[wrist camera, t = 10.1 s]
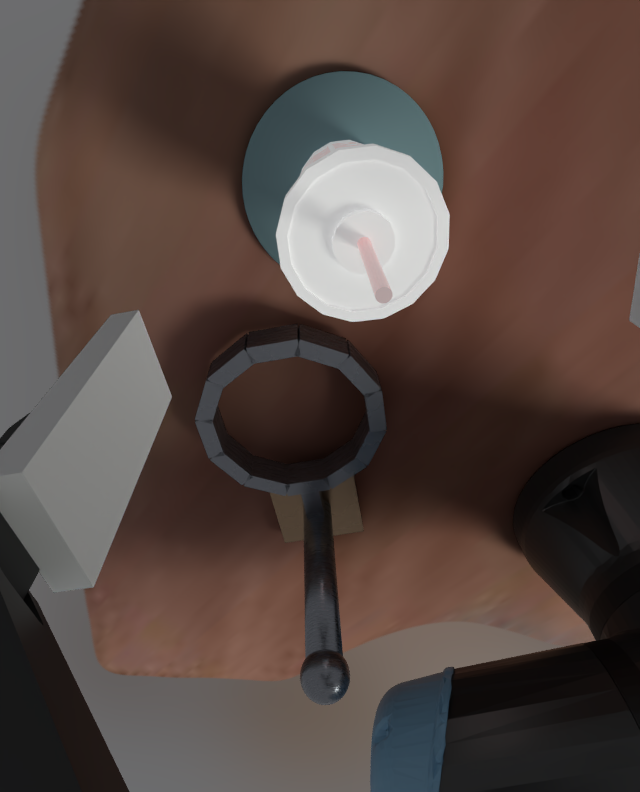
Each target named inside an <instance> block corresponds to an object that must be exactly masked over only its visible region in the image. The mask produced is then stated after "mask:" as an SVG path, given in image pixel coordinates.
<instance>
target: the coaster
mask: <svg viewBox="0 0 640 792" xmlns="http://www.w3.org/2000/svg"><path fill="white" fill-rule="evenodd" d="M343 140H352V141H355V142H358V143H361V144H364V145H365V144H376V145H379V146H382V147H385V148H388V149H391V150H394V151H397V152H400V153H404V154H406V155H409V156H411V157H412V158H413V159H414V160H415V161H416V162H417V163H418V164H419V165H420V166H421V167H422V168H423V169H424V170H425V171H426V172H427V173H428V174H429V175H430V176H431V177H433V178H434V179H435V180H436V181H437V183H438V186H439V189H440V191H441V194H442V188H443V164H442V156H441V151H440V147H439V143H438V140H437V137H436V135H435V132H434V129H433V128H432V126H431V124H430V122H429V120H428V118H427V117H426V115H425V114H424V112H423V111H422V110H421V108H420V107H419V106H418V104H417V103H416V102H415V101H414V100H413V99H412V98H411V97H410V96H409V95H408V94H406V93H405V92H404V91H402V90H401V89H400V88H398V87H397V86H395V85H393V84H392V83H390V82H388V81H386V80H384V79H382V78H379V77H376V76H373V75H370V74H365V73H360V72H348V71H338V72H330V73H325V74H321V75H317V76H314V77H311V78H309V79H307V80H305V81H302V82H300V83H298V84H297V85H295V86H294V87H292V88H290V89H289V90H287V91H286V92H285V93H284V94H283V95H281V96H280V97H279V98H278V99H277V100H276V101H275V102H274V103H273V104H272V105H271V106H270V108H269V109H268V110H267V111H266V112H265V114H264V115H263V117H262V118H261V120H260V121H259V123H258V124H257V126H256V128H255V130H254V132H253V134H252V137H251V139H250V142H249V145H248V148H247V151H246V154H245V159H244V164H243V174H242V190H243V199H244V205H245V210H246V213H247V216H248V219H249V222H250V225H251V227H252V229H253V231H254V233H255V235H256V237H257V238H258V240H259V242H260V243H261V245H262V246H263V247H264V249H265V250H266V251H267V252H268V254H269V255H270V256H271V257H272V258H273V259H274V260H275V261H276V262H277V263H278V264H280V259H279V253H278V246H277V239H276V231H277V227H278V223H279V219H280V215H281V210H282V206H283V202H284V198H285V196H286V194H287V193H288V191H289V190H290V189H291V187H292V186H293V185H294V183H295V182H296V180H297V179H298V178H299V176H300V174H301V171H302V168H303V167H304V165H305V164H306V162H307V161H308V160H309V158H310V157H311V155H312V154H313V153H314V152H315V151H317V150H318V149H320V148H321V147H323V146H325V145H326V144H328V143H330V142H335V141H343Z"/></svg>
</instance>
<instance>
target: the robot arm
mask: <svg viewBox="0 0 640 792" xmlns="http://www.w3.org/2000/svg"><path fill="white" fill-rule="evenodd" d="M629 321H631V322H632V323H633V324H635V325H636V326H638V327H639V328H640V255H639V262H638V268H637V274H636V280H635V287H634V293H633V299H632V306H631V312H630V318H629ZM171 398H172V395H171V393H170V390H169V387H168V385H167V382H166V380H165V377H164V374H163V372H162V369H161V367H160V364H159V361H158V359H157V356H156V354H155V351H154V348H153V346H152V343H151V341H150V338H149V335H148V333H147V330H146V328H145V325H144V322H143V320H142V317H141V315H140V312H139V310H136V311H130V312H125V313H119V314H113V315H111V316H110V317H109V318H108V319H107V320H106V322H105V323H104V324H103V325H102V327H101V328H100V329H99V330H98V331H97V333H96V334H95V335H94V336H93V337H92V339H91V340H90V341H89V342H88V344H87V345H86V346H85V347H84V348H83V350H82V351H81V352H80V353H79V354H78V356H77V357H76V358H75V359H74V361H73V362H72V363H71V364H70V365H69V367H68V368H67V369H66V370H65V371H64V373H63V374H62V375H61V376H60V378H59V379H58V380H57V381H56V382H55V384H54V385H53V386H52V387H51V388H50V390H49V391H48V392H47V393H46V395H45V396H44V397H43V398H42V399H41V401H40V402H39V403H38V404H37V406H36V407H35V408H34V409H33V410H32V412H31V413H29V414H27V415H26V416H25V417H24V418H22V419H21V420H19V421H18V422H17V423H15V424H14V425H13V426H11V427H10V428H9V429H8V430H7V431H6V432H5V433H4V435H3V436H2V437H1V438H0V792H129V790H128V788H127V786H126V784H125V782H124V780H123V778H122V775H121V773H120V772H119V769H118V767H117V765H116V763H115V761H114V759H113V757H112V755H111V753H110V751H109V749H108V747H107V745H106V743H105V741H104V738H103V736H102V734H101V732H100V730H99V728H98V726H97V724H96V722H95V720H94V718H93V716H92V714H91V712H90V710H89V707H88V705H87V703H86V701H85V699H84V697H83V695H82V693H81V691H80V689H79V687H78V685H77V683H76V681H75V679H74V677H73V674H72V672H71V670H70V668H69V666H68V664H67V662H66V660H65V658H64V656H63V654H62V652H61V650H60V648H59V645H58V643H57V641H56V639H55V637H54V635H53V633H52V631H51V629H50V627H49V625H48V623H47V621H46V619H45V617H44V615H43V613H42V610H41V608H40V606H39V604H38V602H37V601H36V600H35V598H34V597H33V596H32V594H31V593H30V591H29V589H30V587H31V585H32V583H33V581H34V580H35V578H36V576H37V574H38V572H39V573H40V574H41V576H42V577H43V578H44V580H45V581H46V583H47V584H48V586H49V587H50V588H51V590H52V591H53V593H57V592H64V591H71V590H77V589H85V588H92V587H94V585H95V583H96V580H97V578H98V576H99V573H100V571H101V568H102V566H103V563H104V561H105V559H106V556H107V554H108V551H109V549H110V546H111V544H112V542H113V539H114V537H115V534H116V532H117V529H118V527H119V525H120V522H121V520H122V517H123V515H124V512H125V510H126V508H127V505H128V503H129V500H130V498H131V495H132V493H133V491H134V488H135V486H136V483H137V481H138V478H139V476H140V474H141V471H142V469H143V466H144V464H145V461H146V459H147V457H148V454H149V452H150V449H151V447H152V444H153V442H154V440H155V437H156V435H157V432H158V430H159V427H160V425H161V423H162V420H163V418H164V415H165V413H166V410H167V408H168V406H169V403H170V401H171ZM513 527H514V532H515V535H516V538H517V540H518V542H519V544H520V547H521V549H522V551H523V553H524V555H525V557H526V559H527V561H528V562H529V564H530V565H531V567H532V568H533V569H534V571H535V572H536V573H537V574H538V575H539V576H540V577H541V578H542V579H543V580H544V581H545V582H546V583H547V584H548V585H549V586H550V587H551V588H552V589H553V590H554V591H555V592H556V593H557V594H558V595H559V596H560V597H561V598H562V599H563V600H564V601H565V602H566V603H567V604H568V605H569V606H570V607H571V608H572V609H573V610H574V611H575V612H576V613H577V614H578V615H579V616H580V617H581V618H582V619H583V620H584V621H585V622H586V624H587V625H588V627H589V628H590V630H591V632H592V634H593V636H594V638H595V640H596V641H592V642H587V643H582V644H581V643H580V644H575V645H570V646H565V647H561V648H556V649H551V650H546V651H541V652H536V653H531V654H526V655H521V656H516V657H511V658H506V659H501V660H497V661H491V662H486V663H481V664H476V665H472V666H467V667H462V668H457V669H454V667H448V668H445V669H444V671H443V672H441V673H437V674H433V675H430V676H426V677H422V678H418V679H414V680H410V681H406V682H403V683H400V684H398V685H395V686H394V687H392V688H391V689H389V690H388V691H387V692H386V694H385V695H384V696H383V698H382V700H381V701H380V703H379V706H378V708H377V711H376V716H375V720H374V726H373V733H372V745H371V775H370V785H371V792H640V424H634V425H627V426H621V427H617V428H613V429H609V430H606V431H603V432H600V433H597V434H594V435H592V436H589V437H587V438H585V439H583V440H580V441H578V442H576V443H575V444H573V445H571V446H569V447H568V448H566V449H564V450H563V451H561V452H560V453H558V454H557V455H555V456H554V457H553V458H551V459H550V460H549V461H548V462H547V463H545V464H544V465H543V466H542V467H541V468H540V469H539V470H538V471H537V472H536V473H535V474H534V475H533V476H532V478H531V479H530V480H529V481H528V483H527V484H526V486H525V487H524V489H523V490H522V492H521V494H520V496H519V498H518V500H517V503H516V506H515V510H514V515H513Z"/></svg>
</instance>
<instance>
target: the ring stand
mask: <svg viewBox="0 0 640 792" xmlns="http://www.w3.org/2000/svg"><path fill="white" fill-rule="evenodd" d="M296 356H298V357H302V358H305V359H308V360H311V361H315V362H318V363H321V364H324V365H328V366H331V367H334V368H338V369H339V370H340V371H341V372H342V373H343V374H344V375H345V376H346V377H347V378H348V379H349V380H350V381H351V382H352V383H353V384H354V385H355V386H356V388H357V389H358V390H359V391H360V392H361V393H362V394H363V395H364V401H365V407H366V412H365V414H364V416H363V418H362V420H361V422H360V424H359V426H358V428H357V430H356V432H355V434H354V436H353V438H352V440H350V441H349V442H347V443H346V444H344V445H343V446H341V447H340V448H339V449H337V450H336V451H334V452H333V453H331V454H330V455H328V456H327V457H325V458H324V459H318V460H312V461H305V462H299V463H293V464H285V463H281V462H277V461H273V460H270V459H266V458H262V457H258V456H254V455H252V454H251V453H250V452H249V451H248V450H246V449H245V448H244V447H243V446H242V445H240V444H239V443H238V442H237V441H236V440H234V439H233V438H232V437H231V436H230V435H229V434H227V431H226V428H225V425H224V422H223V419H222V416H221V413H220V410H219V407H218V402H219V399H220V396H221V393H222V389H223V388H224V387H225V386H226V385H228V384H229V383H230V382H232V381H233V380H234V379H235V378H237V377H238V376H239V375H240V374H242V373H243V372H244V371H245V370H247V369H248V368H249V367H251V366H252V365H253V364H255V363H261V362H267V361H273V360H279V359H284V358H290V357H296ZM195 424H196V426H197V429H198V432H199V434H200V437H201V439H202V442H203V445H204V447H205V450H206V453H207V455H208V458H210V460H211V461H212V462H213V463H214V464H216V465H217V466H218V467H219V468H221V469H222V470H223V471H225V472H226V473H227V474H228V475H230V476H231V477H232V478H233V479H235V480H236V481H237V482H238V483H240V484H241V485H243V484H244V486H245V487H249V488H254V489H258V490H262V491H266V492H269V493H270V496H271V499H272V502H273V506H274V509H275V512H276V515H277V519H278V522H279V525H280V528H281V532H282V535H283V538H284V541H285V543H287V542H294V541H301V540H304V584H305V649H306V659H305V660H304V662H303V664H302V667H301V672H300V681H301V686H302V688H303V690H304V692H305V694H306V695H307V696H308V697H309V698H310V700H312V701H313V702H315V703H317V704H321V705H330V704H333V703H335V702H337V701H339V700H340V699H341V698H342V697H343V696H344V695H345V693H346V691H347V689H348V686H349V683H350V671H349V667H348V664H347V662H346V660H345V659H344V658H343V653H342V640H341V627H340V615H339V602H338V589H337V577H336V564H335V551H334V538H333V536H334V535H341V534H348V533H354V532H361V531H364V530H363V523H362V517H361V512H360V506H359V501H358V495H357V490H356V484H355V478H354V475H355V474H356V473H358V472H360V471H361V470H363V469H364V468H366V467H367V466H366V465H369V463H370V461H371V459H372V457H373V455H374V454H375V452H376V450H377V448H378V446H379V444H380V442H381V441H382V439H383V437H384V435H385V433H386V430H387V427H386V419H385V411H384V403H383V395H382V389H381V385H380V382H379V378H378V374H377V372H376V370H375V369H374V368H373V367H372V366H371V365H370V364H369V363H368V362H367V360H366V359H365V358H364V357H363V356H362V355H361V354H360V353H359V352H358V350H357V349H356V348H355V347H354V346H353V345H352V344H351V343H350V342H349V340H347V341H346V338H343V337H340V336H337V335H334V334H330V333H327V332H324V331H321V330H318V329H315V328H312V327H309V326H305V325H302V324H300V325H299V327H298V324H292V325H286V326H281V327H275V328H269V329H263V330H258V331H252V332H249V335H248V334H247V333H246V334H245V335H244V336H243V337H241V338H240V339H239V340H238V341H236V342H235V343H234V344H233V345H232V346H230V347H229V348H228V349H227V350H226V351H224V352H223V353H222V354H221V355H219V356H218V357H217V358H216V359H215V360H213V361H212V363H211V365H210V369H209V372H208V376H207V379H206V382H205V386H204V389H203V393H202V396H201V400H200V403H199V407H198V410H197V414H196V417H195Z"/></svg>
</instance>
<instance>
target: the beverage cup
mask: <svg viewBox="0 0 640 792" xmlns="http://www.w3.org/2000/svg"><path fill="white" fill-rule="evenodd" d="M449 215H450V214H449V212H448V209H447V206H446V204H445V201H444V199H443V196H442V194H441V191H440V189H439V186H438V183H437V181H436V180H435V179H434V178H433V177H431V176H430V175H429V174H428V173H427V172H426V171H425V170H424V169H423V168H422V167H421V166H420V165H419V164H418V163H417V162H416V161H415V160H414V159H413V158H412V157H411V156H409V155H406V154H404V153H400V152H397V151H394V150H391V149H388V148H385V147H382V146H379V145H376V144H365V145H364V144H361V143H358V142H355V141H352V140H343V141H335V142H330V143H328V144H326V145H325V146H323V147H321V148H320V149H318V150H317V151H315V152H314V153H313V154H312V155H311V157H310V158H309V160H308V161H307V162H306V164H305V165H304V167H303V168H302V171H301V174H300V176H299V178H298V179H297V180H296V182H295V183H294V185H293V186H292V187H291V189H290V190H289V191H288V193H287V194H286V196H285V198H284V202H283V206H282V210H281V215H280V219H279V223H278V227H277V231H276V239H277V246H278V253H279V259H280V266H281V269H282V271H283V273H284V274H285V276H286V278H287V279H288V281H289V283H290V284H291V286H292V287H293V289H294V291H295V292H296V294H297V296H298V297H300V298H301V299H303V300H304V301H305V302H307V303H308V304H309V305H311V306H312V307H313V308H315V309H316V310H317V311H319V312H320V313H322V314H323V315H327V316H331V317H335V318H339V319H343V320H347V321H350V322H357V321H366V320H375V319H384V318H386V317H388V316H390V315H392V314H394V313H396V312H398V311H400V310H401V309H403V308H405V307H407V306H409V305H411V304H413V303H414V302H415V301H416V300H417V299H418V298H419V296H420V295H421V294H422V293H423V292H424V291H425V290H426V289H427V288H428V287H429V286H430V285H431V284H432V283H433V282H434V281H435V279H436V277H437V274H438V272H439V270H440V267H441V265H442V263H443V260H444V258H445V256H446V253H447V251H448V248H449Z"/></svg>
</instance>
